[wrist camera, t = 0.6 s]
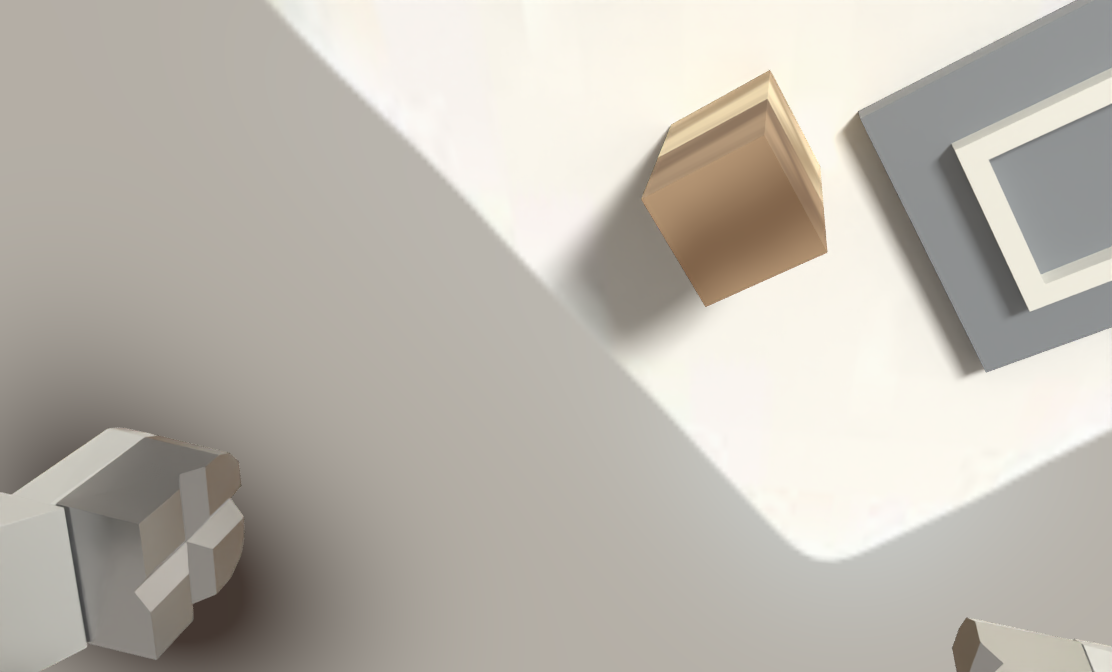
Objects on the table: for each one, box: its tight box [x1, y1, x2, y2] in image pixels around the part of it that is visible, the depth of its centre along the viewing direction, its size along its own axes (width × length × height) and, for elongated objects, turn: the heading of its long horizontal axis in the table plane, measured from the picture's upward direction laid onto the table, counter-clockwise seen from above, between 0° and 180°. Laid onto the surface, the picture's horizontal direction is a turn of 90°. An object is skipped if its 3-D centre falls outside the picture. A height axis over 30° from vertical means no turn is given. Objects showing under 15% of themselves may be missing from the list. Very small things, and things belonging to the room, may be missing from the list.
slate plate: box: [858, 0, 1112, 372], centre depth 39 cm, size 14×14×2 cm
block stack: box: [641, 70, 827, 307], centre depth 38 cm, size 5×5×10 cm
